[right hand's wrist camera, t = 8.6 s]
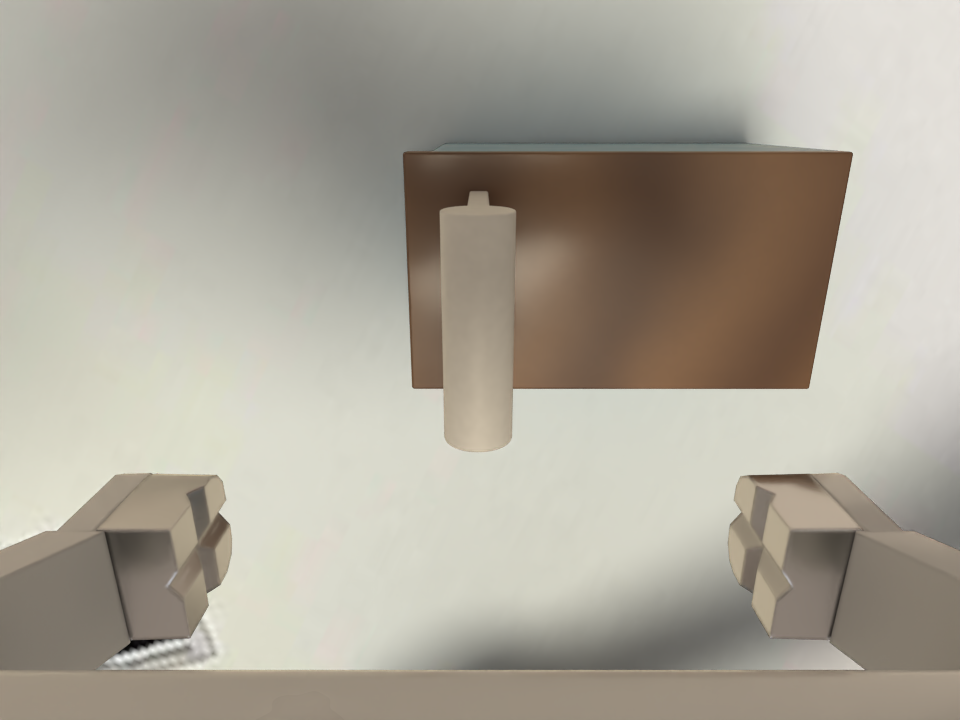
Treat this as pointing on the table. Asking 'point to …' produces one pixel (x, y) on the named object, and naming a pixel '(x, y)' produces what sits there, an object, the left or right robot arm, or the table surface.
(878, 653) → the right robot arm
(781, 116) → the table surface
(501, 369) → the lid
